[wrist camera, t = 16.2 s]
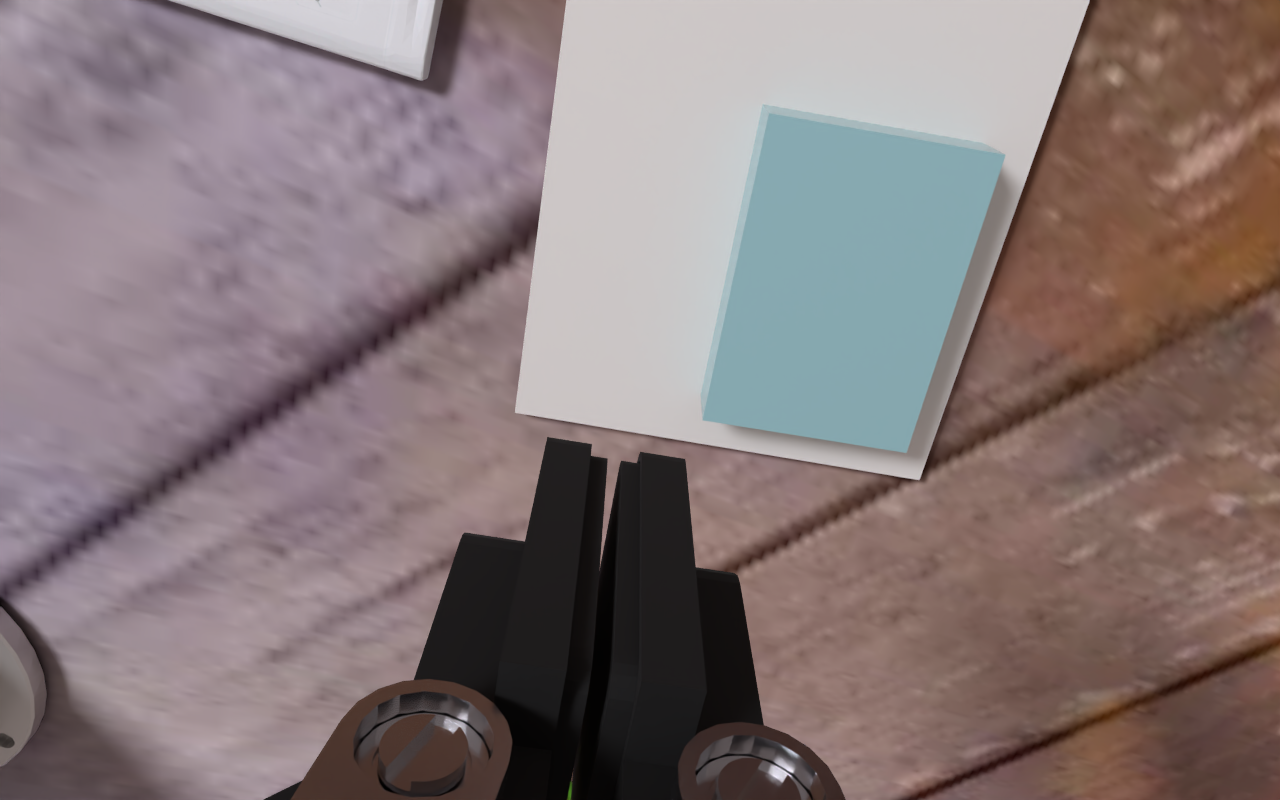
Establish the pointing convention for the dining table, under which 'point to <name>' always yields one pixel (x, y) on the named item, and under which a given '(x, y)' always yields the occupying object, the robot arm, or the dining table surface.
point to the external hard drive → (345, 27)
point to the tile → (844, 276)
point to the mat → (716, 176)
